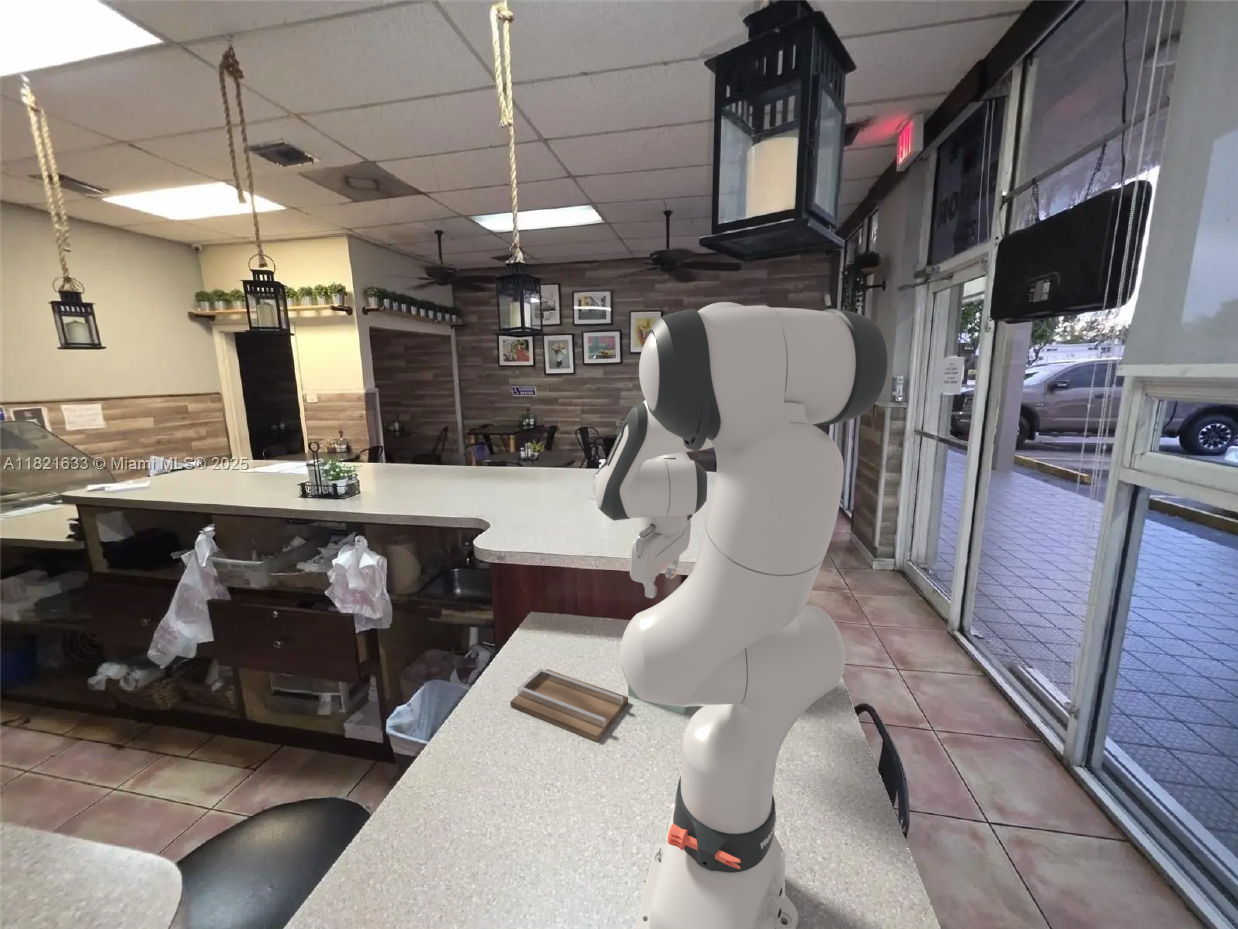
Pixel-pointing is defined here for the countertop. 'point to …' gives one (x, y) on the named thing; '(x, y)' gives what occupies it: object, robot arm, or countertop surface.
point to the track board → (574, 699)
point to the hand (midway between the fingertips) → (661, 586)
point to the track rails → (564, 707)
